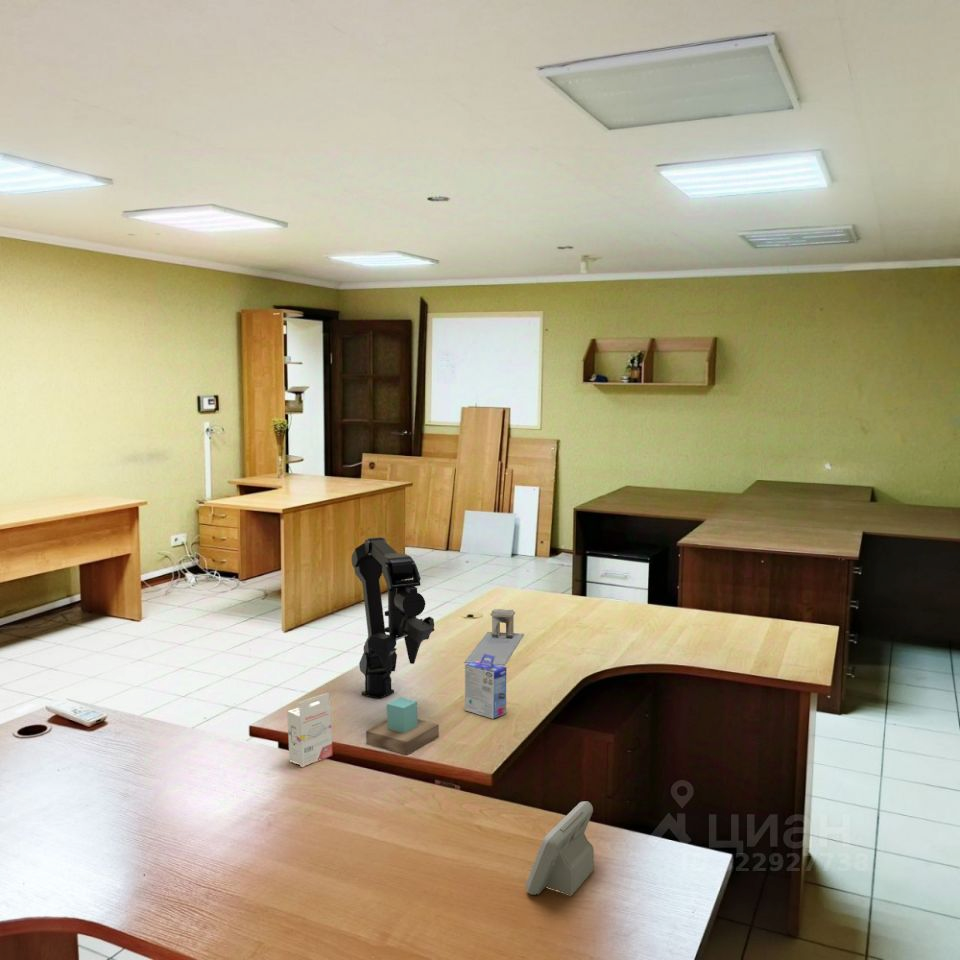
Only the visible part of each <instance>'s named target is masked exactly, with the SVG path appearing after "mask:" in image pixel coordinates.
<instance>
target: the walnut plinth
mask: <svg viewBox="0 0 960 960" xmlns="http://www.w3.org/2000/svg"><path fill="white" fill-rule="evenodd" d="M417 720H418V726H417V727H415V728H413V729H412V730H410V731H408V732H406V733H401V732H397V731H393V730H389V729H387V719H386V720H385V721H383V722H380V723H379V724H377V725H375V726H373V727H371V728H369V729H367V730H366V731H365V735H366V737H365V740H366V744H367V745H371V746H375V747H378V748H381V749H385V750H389V751H392V752H395V753H398V754H399V753H400V754H403V755H406V756H408V755H410V754H411V753H413V752H415V751H417V750H419V749H421V748H422V747H423V746H426V745H427V744H429V743H430V742H432V741H434V740H436V739H438V738H439V737H440V732H439V730H440V726H439V725H440V724H439V723H435V722H431V721H426V720H422V719H419V718H417Z"/></svg>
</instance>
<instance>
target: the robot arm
mask: <svg viewBox="0 0 960 960" xmlns="http://www.w3.org/2000/svg"><path fill="white" fill-rule="evenodd" d="M351 565H352V567H353V568H354V574H355V576H356V577H357V578H358V579H359V581H360V582H361V584H362V592H363V602H364V608H365V609H364V611H365V619H366V626H367V639H366V641H365V643H364V645H363V653H362V656H361V659H360V660H359V663H358V664H359V671H360V672H361V673H362V674H363V675H364V677H365V678H364V687H365V688H364V689H365V690H364V691H362V692H361V695H363V696H367V697H371V698H375V699H382V698H384V697H387V696H389V695H390V694H393V693H394V692H395V689H393V688H392V677H391V674H392V672H395V671H396V667H397V659H398V653H397V648H396V645H397V641H399V640H401V639H404V643H405V648H406V652H407V653H406V654H407V656H408V661H409V664H411V665H414V664H415V663H416V659H417V656H418V651H419V649H420V646H421V644H422V642H423V641H425V640H429V639H430V637H431V634H432V633H433V632H434V631H435V619H434V618H433V617H432V616H427V617H424V618H418V616H420V615H421V614H422V613H423V611H424V610H425V607H426V600H425V598H424V596H423V595H422V594H420V593H419V592H418V587H420V586H421V580H422V579H421V575H420V572H419V570H418V566H417V564H416V562H415V560H414V559H413V558H412V556H410V555H408V554H405V553H398V552H397V551H396V550H395V549H394V548H393V547H392V546H391V545H389V544H388V542H387V540H386V538H384V537H380V536H378V537H369V538H367V539H365V540H364V542H363V543H362V544H360V545H359V546H357V547H356V548H354V551H353V553H352V555H351ZM382 575H383V578H384V581H385V583H386V586H387V610H386V611H384V609H383V602H382V593H381V585H380V584H381V583H380V578H381V577H382ZM384 616H385V617H387V618H388V619H387V621H388V622H387V623H388V626H385V618H384ZM386 633H389V634H386Z"/></svg>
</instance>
